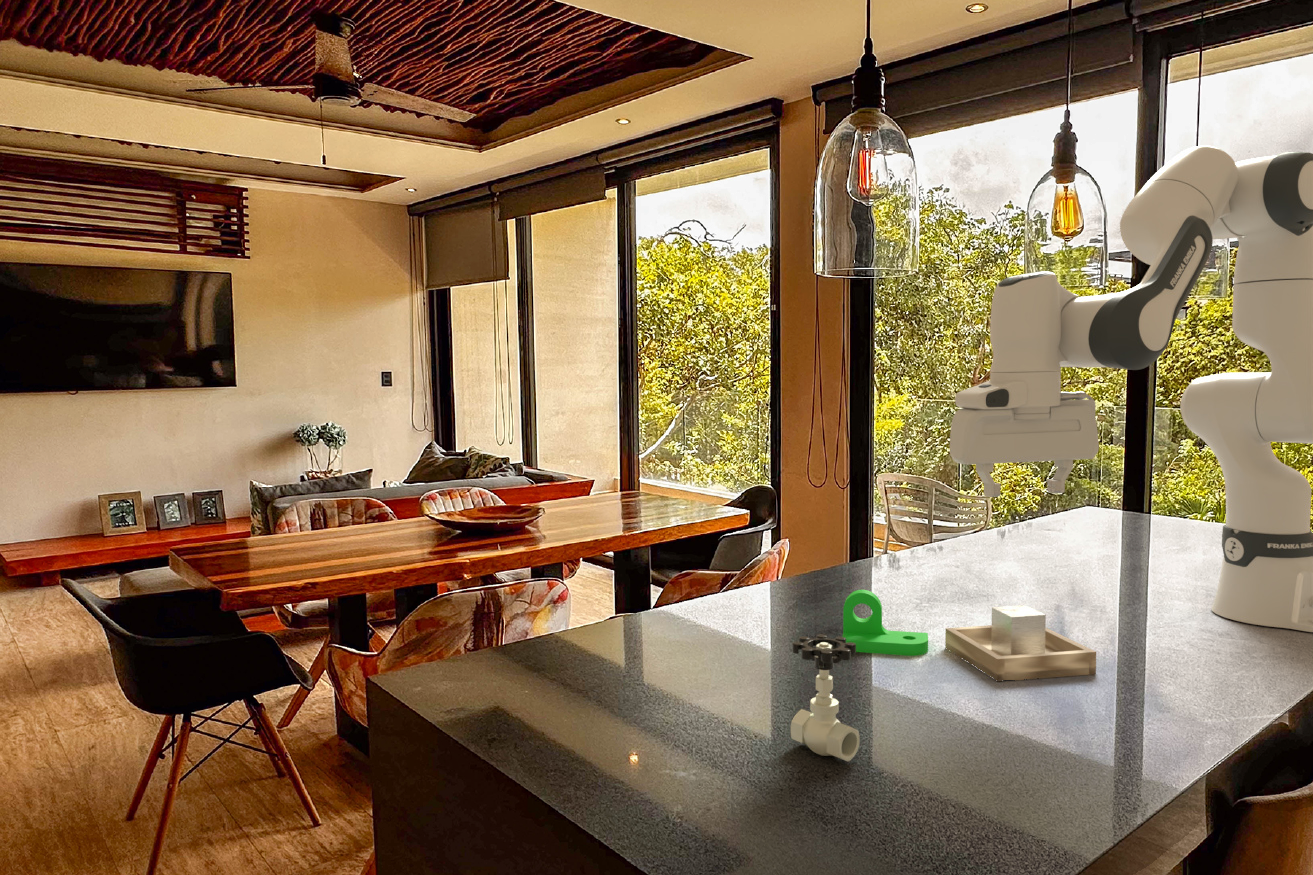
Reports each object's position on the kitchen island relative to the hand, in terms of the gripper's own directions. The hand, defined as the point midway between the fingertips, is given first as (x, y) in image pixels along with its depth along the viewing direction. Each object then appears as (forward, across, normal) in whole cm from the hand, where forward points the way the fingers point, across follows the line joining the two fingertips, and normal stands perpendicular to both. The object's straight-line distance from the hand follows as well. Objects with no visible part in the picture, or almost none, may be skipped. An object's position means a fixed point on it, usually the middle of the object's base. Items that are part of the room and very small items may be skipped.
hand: (1024, 494), depth 122 cm
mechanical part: (+23, +16, -9) cm, 30 cm away
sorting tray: (+23, +1, 0) cm, 23 cm away
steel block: (+22, +1, 0) cm, 22 cm away
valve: (+23, +37, +23) cm, 50 cm away
